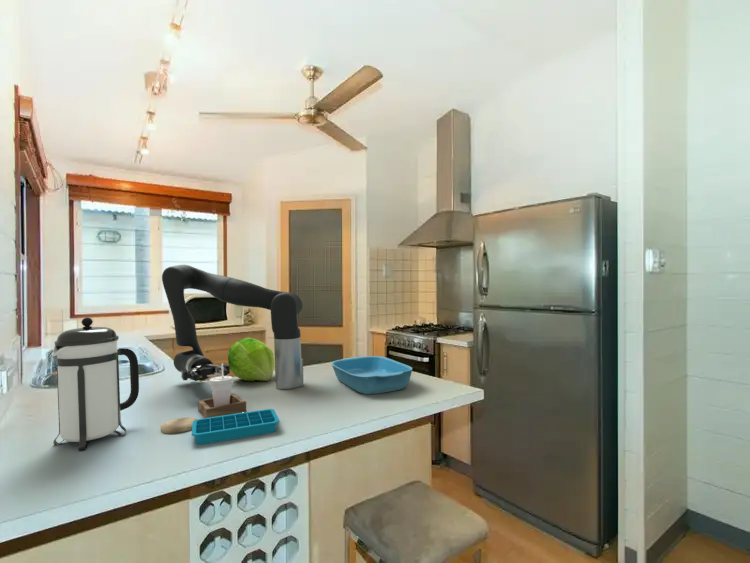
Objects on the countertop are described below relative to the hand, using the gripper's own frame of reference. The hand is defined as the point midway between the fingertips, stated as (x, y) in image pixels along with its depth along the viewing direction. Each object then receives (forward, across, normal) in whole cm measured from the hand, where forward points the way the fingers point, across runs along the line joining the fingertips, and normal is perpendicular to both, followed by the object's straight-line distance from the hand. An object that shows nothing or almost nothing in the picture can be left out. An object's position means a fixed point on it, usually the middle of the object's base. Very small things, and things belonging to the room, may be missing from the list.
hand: (211, 375), depth 128 cm
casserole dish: (+14, +51, +9) cm, 54 cm away
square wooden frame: (+11, 0, +8) cm, 14 cm away
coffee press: (+11, -30, +9) cm, 33 cm away
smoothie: (+11, 0, +9) cm, 14 cm away
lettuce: (-21, +20, +9) cm, 30 cm away
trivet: (+17, -12, +8) cm, 23 cm away
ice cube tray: (+30, -1, +9) cm, 31 cm away
